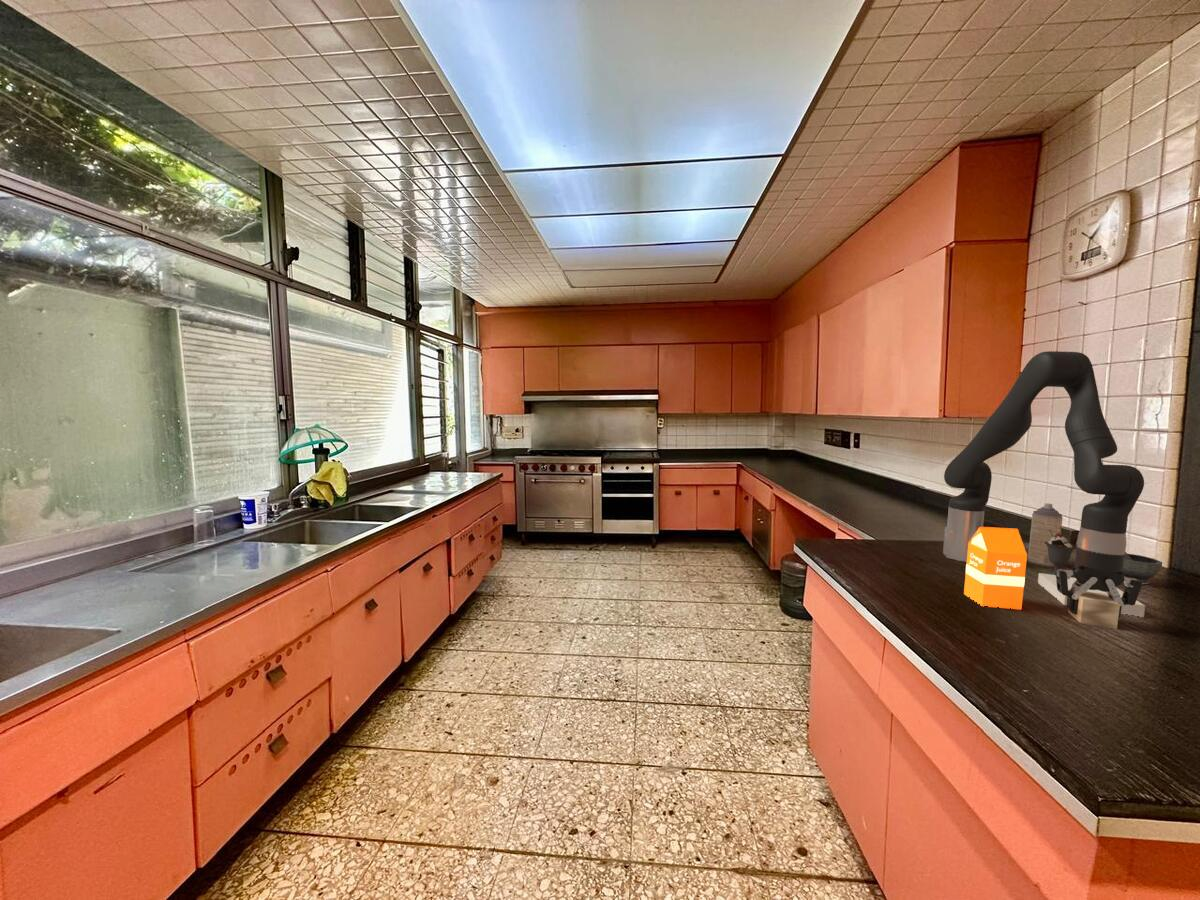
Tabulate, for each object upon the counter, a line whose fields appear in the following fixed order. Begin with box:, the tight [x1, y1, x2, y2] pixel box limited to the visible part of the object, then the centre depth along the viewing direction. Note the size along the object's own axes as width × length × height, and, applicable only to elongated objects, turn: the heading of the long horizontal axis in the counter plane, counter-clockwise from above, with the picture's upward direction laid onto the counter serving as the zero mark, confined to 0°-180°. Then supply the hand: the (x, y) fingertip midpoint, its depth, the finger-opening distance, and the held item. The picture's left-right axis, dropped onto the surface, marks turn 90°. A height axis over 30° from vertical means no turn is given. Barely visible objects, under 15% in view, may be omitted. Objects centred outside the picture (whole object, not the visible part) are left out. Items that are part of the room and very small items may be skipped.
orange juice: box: [963, 526, 1028, 610], centre depth 113 cm, size 8×9×20 cm
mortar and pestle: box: [1122, 550, 1163, 583], centre depth 127 cm, size 11×9×12 cm
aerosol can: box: [1027, 502, 1063, 568], centre depth 140 cm, size 7×7×20 cm
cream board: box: [1037, 572, 1146, 618], centre depth 115 cm, size 14×16×3 cm
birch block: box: [1067, 592, 1120, 630], centre depth 103 cm, size 6×6×6 cm
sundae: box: [1044, 527, 1077, 575], centre depth 129 cm, size 7×7×15 cm
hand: (1092, 615), depth 103 cm, fingers closed on birch block, 6 cm apart
